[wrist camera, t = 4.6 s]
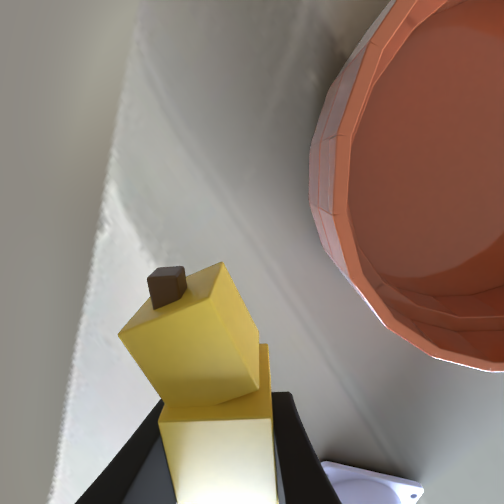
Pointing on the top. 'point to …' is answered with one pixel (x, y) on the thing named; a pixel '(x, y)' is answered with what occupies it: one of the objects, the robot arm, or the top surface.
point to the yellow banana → (207, 386)
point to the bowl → (420, 176)
